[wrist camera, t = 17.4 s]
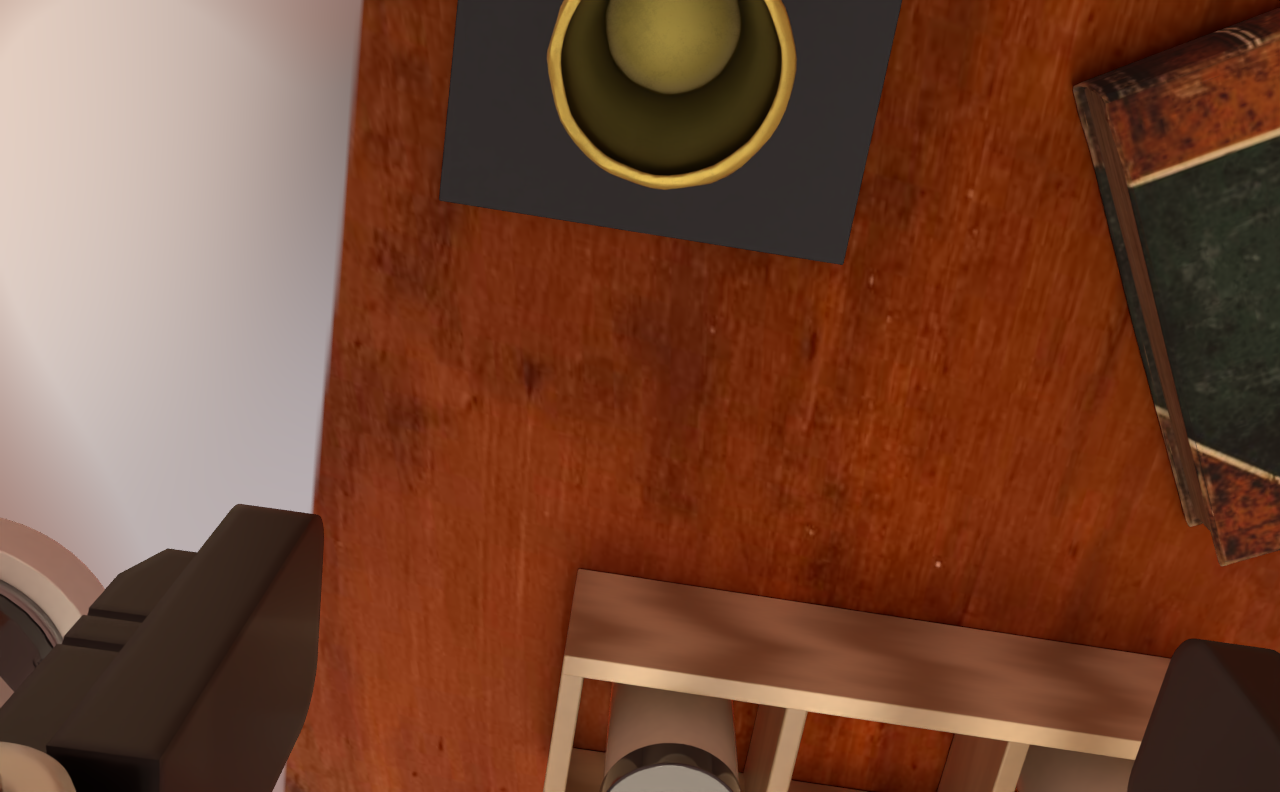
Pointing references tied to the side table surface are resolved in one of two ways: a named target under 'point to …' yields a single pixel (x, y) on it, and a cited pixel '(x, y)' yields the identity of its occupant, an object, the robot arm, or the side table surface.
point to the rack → (846, 680)
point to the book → (1203, 262)
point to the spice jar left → (669, 742)
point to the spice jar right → (1072, 771)
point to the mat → (712, 213)
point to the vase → (671, 84)
